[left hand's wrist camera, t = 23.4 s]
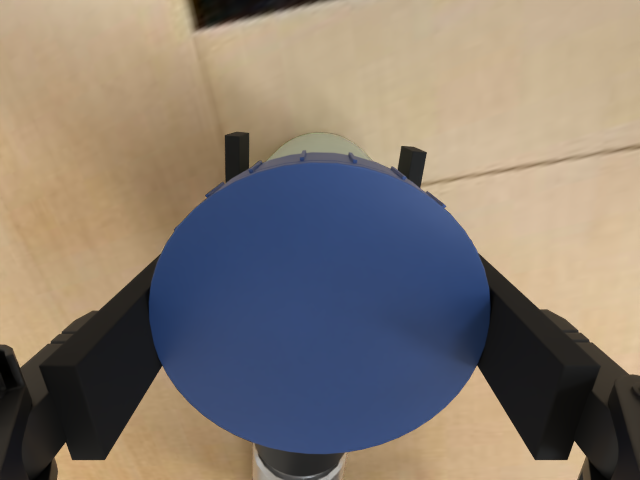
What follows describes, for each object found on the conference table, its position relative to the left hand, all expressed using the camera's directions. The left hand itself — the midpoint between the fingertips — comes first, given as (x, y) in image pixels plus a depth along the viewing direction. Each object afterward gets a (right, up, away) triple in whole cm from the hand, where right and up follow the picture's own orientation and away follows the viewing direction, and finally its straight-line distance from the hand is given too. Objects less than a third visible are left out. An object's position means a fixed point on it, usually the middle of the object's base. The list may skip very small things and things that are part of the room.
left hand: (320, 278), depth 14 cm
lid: (0, -1, -3) cm, 3 cm away
